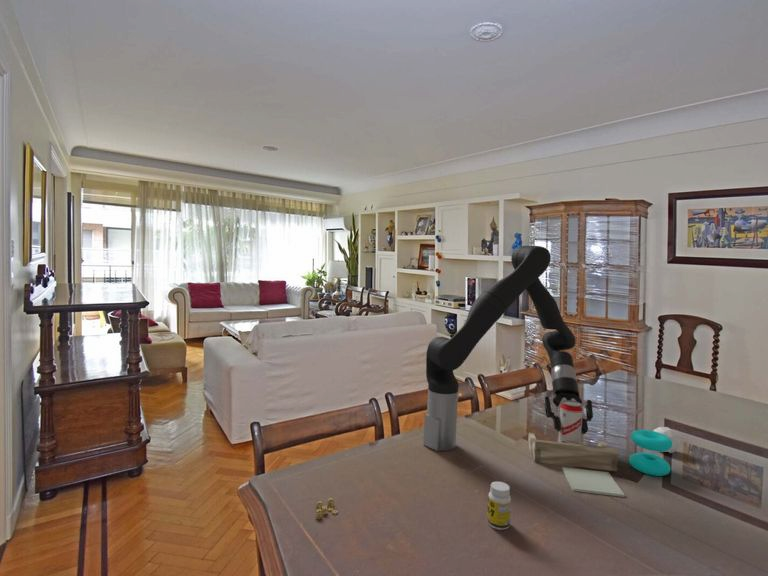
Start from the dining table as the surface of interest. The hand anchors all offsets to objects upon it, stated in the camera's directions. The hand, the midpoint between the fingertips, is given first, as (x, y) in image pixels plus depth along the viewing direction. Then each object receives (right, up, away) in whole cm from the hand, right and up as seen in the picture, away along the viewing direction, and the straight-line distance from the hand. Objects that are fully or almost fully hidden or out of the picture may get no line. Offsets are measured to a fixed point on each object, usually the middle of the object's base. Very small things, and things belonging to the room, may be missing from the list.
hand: (571, 431), depth 127 cm
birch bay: (0, -8, +1) cm, 8 cm away
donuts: (+20, -9, -5) cm, 22 cm away
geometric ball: (+33, -9, +8) cm, 35 cm away
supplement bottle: (-31, -9, -35) cm, 47 cm away
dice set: (-69, -8, -32) cm, 76 cm away
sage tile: (-1, -9, -14) cm, 17 cm away
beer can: (0, -8, +2) cm, 8 cm away
